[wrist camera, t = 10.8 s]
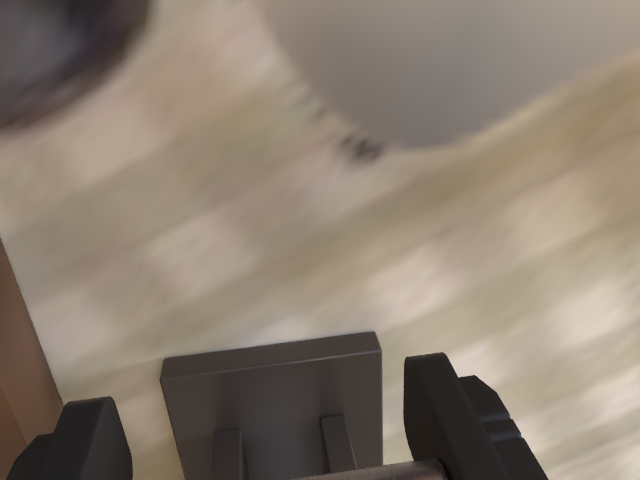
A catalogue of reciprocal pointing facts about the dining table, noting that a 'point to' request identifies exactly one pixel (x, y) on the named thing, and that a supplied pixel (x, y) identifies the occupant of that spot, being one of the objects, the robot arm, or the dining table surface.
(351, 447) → the handle bracket
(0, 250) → the plate
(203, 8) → the dining table surface
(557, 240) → the dining table surface
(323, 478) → the door handle
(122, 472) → the robot arm
